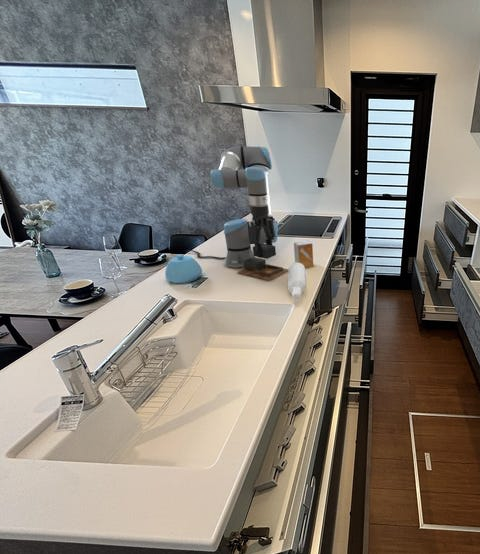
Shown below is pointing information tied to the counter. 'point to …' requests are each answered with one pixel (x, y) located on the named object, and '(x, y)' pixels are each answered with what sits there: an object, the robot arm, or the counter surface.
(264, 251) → the black rectangular block
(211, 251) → the counter surface
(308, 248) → the small box
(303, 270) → the bottle
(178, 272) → the sugar bowl
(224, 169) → the robot arm
